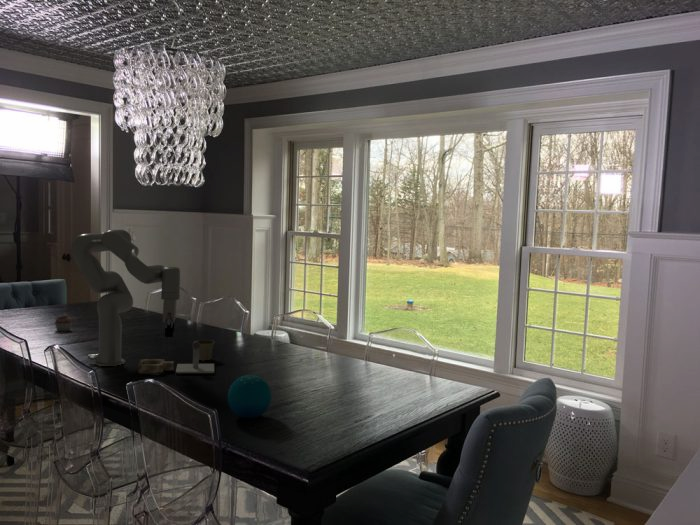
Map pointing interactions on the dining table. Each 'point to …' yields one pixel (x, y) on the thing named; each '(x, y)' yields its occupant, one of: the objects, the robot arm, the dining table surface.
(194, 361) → the post stand
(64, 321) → the cupcake
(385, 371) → the dining table surface
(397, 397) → the dining table surface
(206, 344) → the flower pot
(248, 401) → the decorative orb
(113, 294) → the robot arm
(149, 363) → the birch loop
